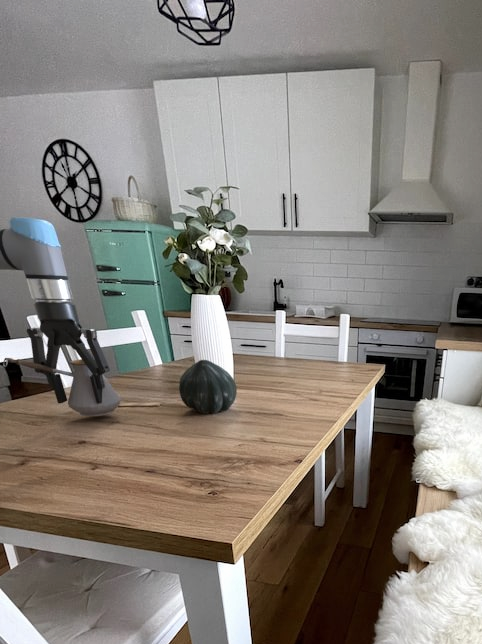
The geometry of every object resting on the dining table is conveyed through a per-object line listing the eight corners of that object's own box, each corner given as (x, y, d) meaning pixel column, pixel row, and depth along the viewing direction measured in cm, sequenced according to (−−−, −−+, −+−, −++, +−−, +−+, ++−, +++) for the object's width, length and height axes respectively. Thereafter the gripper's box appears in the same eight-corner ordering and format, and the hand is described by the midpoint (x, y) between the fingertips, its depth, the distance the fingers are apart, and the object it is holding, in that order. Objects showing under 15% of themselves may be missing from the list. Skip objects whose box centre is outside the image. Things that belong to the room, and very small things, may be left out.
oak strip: (69, 407, 111) (68, 405, 111) (74, 404, 114) (74, 403, 114) (158, 406, 114) (157, 405, 114) (161, 403, 117) (161, 402, 116)
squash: (215, 381, 120) (183, 346, 107) (253, 389, 115) (225, 353, 101) (192, 420, 116) (155, 388, 103) (230, 430, 110) (197, 398, 97)
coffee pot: (111, 403, 110) (98, 347, 103) (130, 412, 103) (118, 352, 97) (16, 419, 94) (-7, 354, 88) (31, 430, 88) (8, 361, 82)
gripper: (111, 302, 92) (132, 398, 102) (14, 299, 90) (45, 398, 99) (95, 303, 85) (120, 405, 95) (-10, 300, 83) (26, 405, 93)
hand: (82, 401), depth 97 cm, fingers closed on coffee pot, 8 cm apart
